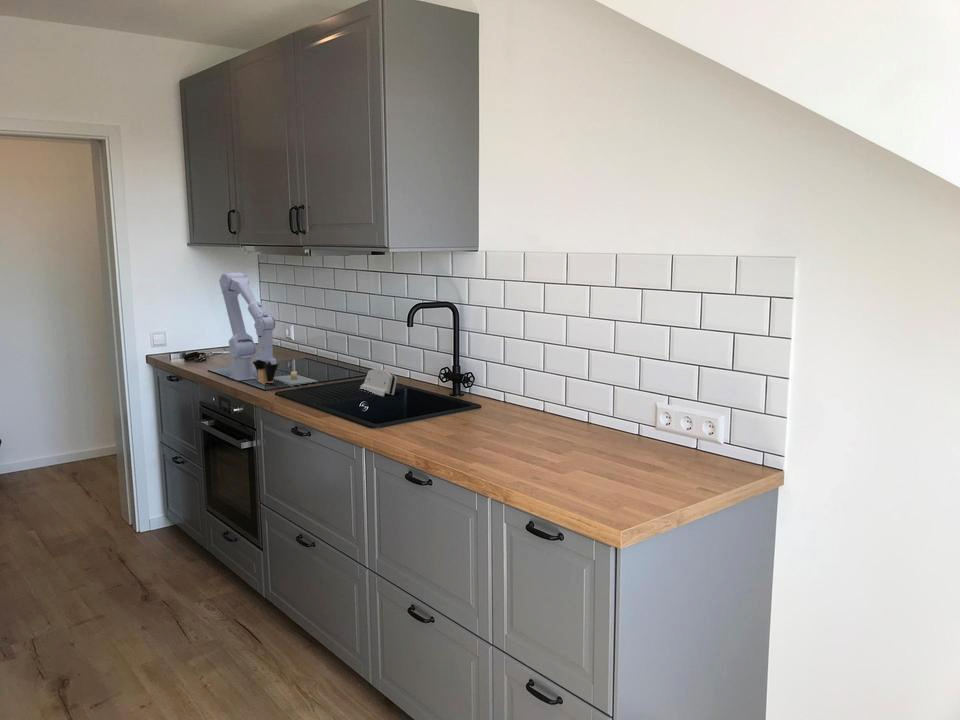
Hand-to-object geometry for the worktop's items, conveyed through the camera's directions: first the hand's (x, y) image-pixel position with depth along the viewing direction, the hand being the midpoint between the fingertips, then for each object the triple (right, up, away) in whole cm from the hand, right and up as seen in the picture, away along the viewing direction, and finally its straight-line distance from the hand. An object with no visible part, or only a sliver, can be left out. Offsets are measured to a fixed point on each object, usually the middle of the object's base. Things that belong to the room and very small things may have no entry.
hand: (265, 379), depth 321 cm
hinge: (+47, -5, -12) cm, 49 cm away
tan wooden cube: (0, -1, 0) cm, 1 cm away
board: (+10, -1, +5) cm, 11 cm away
